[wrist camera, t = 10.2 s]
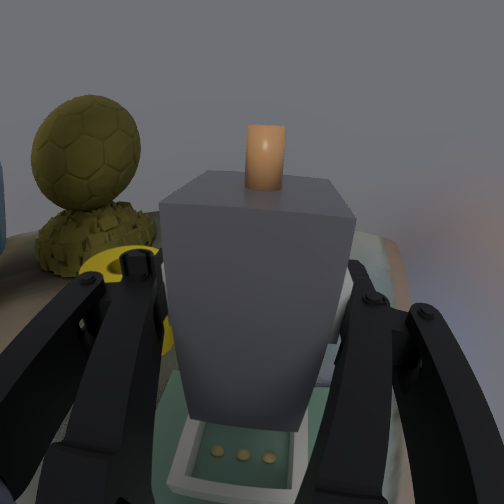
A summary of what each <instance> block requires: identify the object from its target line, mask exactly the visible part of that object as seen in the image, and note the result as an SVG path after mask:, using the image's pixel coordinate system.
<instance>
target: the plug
mask: <svg viewBox="0 0 504 504" xmlns="http://www.w3.org/2000/svg"><path fill="white" fill-rule="evenodd" d="M285 135H286V127H283V126H270V125H251V124H247V140H246V141H247V142H246V163H245V172H235V171H210V170H208V171H206V172H204V173H203V174H201V175H200V176H198V177H197V178H195V179H194V180H192V181H190V182H189V183H187V184H186V185H184V186H183V187H181V188H180V189H178V190H177V191H175V192H174V193H172V194H171V195H169V196H168V197H167V198H165V199H164V200H162V201H161V202H159V214H160V228H161V241H162V252H163V262H164V271H165V280H166V288H167V296H168V304H169V311H170V318H171V324H172V331H173V337H174V343H175V349H176V355H177V360H178V365H179V371H180V376H181V381H182V386H183V390H184V395H185V400H186V404H187V409H188V413H189V417H190V419H193V420H198V421H203V422H209V423H215V424H221V425H227V426H234V427H242V428H250V429H259V430H270V431H283V432H298V431H299V428H300V426H301V423H302V420H303V418H304V415H305V412H306V409H307V406H308V404H309V401H310V398H311V395H312V392H313V389H314V386H315V383H316V380H317V377H318V374H319V371H320V368H321V364H322V361H323V358H324V355H325V351H326V348H327V344H328V341H329V337H330V334H331V330H332V327H333V323H334V319H335V315H336V312H337V308H338V304H339V300H340V296H341V291H342V287H343V283H344V279H345V274H346V270H347V265H348V260H349V256H350V251H351V246H352V241H353V235H354V230H355V225H356V217H355V216H354V214H353V213H352V211H351V210H350V208H349V207H348V206H347V204H346V203H345V201H344V200H343V199H342V197H341V196H340V194H339V193H338V192H337V190H336V189H335V188H334V186H333V185H332V184H331V182H330V181H329V180H328V179H319V178H310V177H300V176H290V175H283V163H284V150H285Z"/></svg>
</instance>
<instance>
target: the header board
mask: <svg viewBox="0 0 504 504" xmlns="http://www.w3.org/2000/svg"><path fill="white" fill-rule="evenodd" d="M329 390H330V387H314V389H313V392H312V395H311V398H310V401H309V404H308V406H307V409H306V412H305V415H304V418H303V420H302V423H301V426H300V428H299V431H298V432H283V431H270V430H259V429H250V428H242V427H234V426H227V425H221V424H215V423H209V422H203V421H198V420H193V419H190V417H189V413H188V409H187V404H186V400H185V395H184V390H183V386H182V381H181V376H180V371H179V370H174V369H173V371H172V373H171V376H170V378H169V380H168V383H167V385H166V387H165V390H164V392H163V395H162V397H161V400H160V402H159V404H158V407H157V409H156V412H155V422H154V436H153V453H152V478H151V487H152V493H153V496H154V500H155V504H294V502H295V500H296V497H297V495H298V492H299V489H300V486H301V484H302V481H303V478H304V475H305V472H306V469H307V466H308V463H309V460H310V457H311V454H312V451H313V448H314V445H315V441H316V438H317V435H318V431H319V428H320V424H321V421H322V417H323V413H324V409H325V406H326V402H327V398H328V394H329Z"/></svg>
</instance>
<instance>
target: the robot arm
mask: <svg viewBox="0 0 504 504" xmlns="http://www.w3.org/2000/svg"><path fill="white" fill-rule="evenodd" d="M5 246H6V220H5V201H4V184H3V172H2V166H1V162H0V255H1V254H2V252H3V251H4V249H5ZM119 260H120V266H121V271H122V279H121V281H120V282H106V283H105V281H104V277H103V275H102V274H101V273H100V272H97V271H88V272H84V273H82V274H79V275H78V276H77V277H75V278H74V279H73V280H72V281H71V282H70V283H69V284H68V285H66V286H65V287H64V288H63V289H62V290H61V291H60V292H59V293H58V294H57V295H56V296H55V297H54V298H53V299H52V300H51V301H50V302H49V303H48V304H47V305H46V306H45V307H44V308H43V309H42V310H41V311H40V312H39V313H38V314H37V315H36V316H35V317H34V318H33V319H32V320H31V321H30V322H29V323H28V324H27V325H26V326H25V328H24V329H23V330H22V331H21V332H20V333H19V334H18V335H17V336H16V337H15V338H14V340H13V341H12V342H11V343H10V344H9V345H8V346H7V347H6V349H5V350H4V351H3V352H2V353H1V354H0V504H16V503H15V501H16V500H17V499H18V498H19V497H20V496H21V495H22V493H23V492H24V491H25V489H26V488H27V486H28V485H29V483H30V482H31V480H32V478H33V476H34V475H35V473H36V471H37V469H38V467H39V465H40V463H41V461H42V459H43V457H44V455H45V457H44V461H43V465H42V470H41V475H40V480H39V485H38V490H37V496H36V503H35V504H155V500H154V496H153V493H152V487H151V478H152V453H153V436H154V422H155V410H156V399H157V389H158V380H159V371H160V363H161V355H162V348H163V340H164V333H165V330H164V324H163V322H164V320H165V318H166V316H167V315H168V321H169V326H172V324H171V318H170V311H169V304H168V296H167V288H166V280H165V271H164V262H163V252H162V248H161V249H160V250H159V251H158V252H157V254H155V255H154V253H153V252H152V251H151V250H148V249H141V248H139V249H132V250H128V251H126V252H124V253H122V254H121V255H120V256H119ZM82 318H83V321H84V324H85V326H84V327H83V328H82V329H81V328H80V326H79V322H80V320H81V319H82ZM339 334H340V337H341V344H340V347H339V350H338V353H337V356H336V359H335V362H334V364H335V368H334V373H333V377H332V381H331V386H330V390H329V394H328V398H327V402H326V406H325V409H324V413H323V417H322V421H321V424H320V428H319V431H318V435H317V438H316V441H315V445H314V448H313V451H312V454H311V457H310V460H309V463H308V466H307V469H306V472H305V475H304V478H303V481H302V484H301V486H300V489H299V492H298V495H297V497H296V500H295V502H294V504H388V501H387V500H386V499H385V498H384V497H383V496H382V485H383V479H384V473H385V466H386V459H387V451H388V441H389V431H390V418H391V400H392V386H393V389H394V393H395V397H396V401H397V405H398V410H399V414H400V418H401V423H402V427H403V432H404V437H405V442H406V447H407V452H408V458H409V463H410V469H411V476H412V482H413V490H414V497H415V504H504V445H503V442H502V439H501V436H500V433H499V431H498V428H497V425H496V423H495V420H494V418H493V415H492V413H491V411H490V408H489V406H488V404H487V401H486V399H485V397H484V394H483V392H482V390H481V388H480V386H479V383H478V381H477V380H476V377H475V375H474V373H473V371H472V369H471V367H470V365H469V363H468V361H467V359H466V357H465V355H464V354H463V352H462V350H461V348H460V346H459V344H458V342H457V341H456V339H455V337H454V335H453V333H452V332H451V330H450V328H449V327H448V325H447V323H446V322H445V320H444V318H443V316H442V315H441V313H440V312H439V311H438V310H437V309H435V308H434V307H433V306H432V305H429V304H426V303H415V304H413V305H412V306H411V308H410V310H409V312H405V311H401V310H397V309H394V308H391V307H390V303H389V300H388V299H387V298H386V297H385V296H384V295H383V294H381V293H379V292H376V291H375V289H374V286H373V284H372V282H371V280H370V278H369V275H368V273H367V271H366V269H365V267H364V265H362V264H361V263H360V262H359V261H358V260H348V265H347V270H346V274H345V279H344V283H343V287H342V291H341V296H340V300H339V304H338V308H337V312H336V315H335V319H334V323H333V327H332V330H331V334H330V337H329V341H328V344H337V341H338V337H339ZM73 403H74V405H73ZM72 405H73V408H72V412H71V415H70V419H69V422H68V426H67V430H66V434H65V437H64V439H63V440H62V441H61V442H56V443H52V444H51V442H52V440H53V438H54V436H55V434H56V433H57V431H58V429H59V427H60V425H61V424H62V422H63V420H64V418H65V417H66V415H67V413H68V412H69V410H70V408H71V406H72ZM50 444H51V445H50ZM49 445H50V446H49ZM45 453H46V454H45Z"/></svg>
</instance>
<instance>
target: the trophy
mask: <svg viewBox="0 0 504 504" xmlns="http://www.w3.org/2000/svg"><path fill="white" fill-rule="evenodd" d="M140 146H141V145H140V137H139V132H138V130H137V126H136V123H135V121H134V119H133V117H132V116H131V115H130V114H129V112H128V111H127V110H126V109H125V108H123V107H122V106H121V105H120V104H118V103H117V102H115V101H113V100H111V99H108V98H106V97H103V96H96V95H85V96H80V97H75V98H73V99H72V100H68V101H66V102H65V103H63V104H61V105H60V106H58V107H57V108H56V109H55V110H53V111H52V112H51V113H50V114H49V115H48V117H47V118H46V119H45V120H44V122H43V123H42V124H41V126H40V127H39V129H38V131H37V133H36V135H35V138H34V142H33V146H32V153H31V165H32V172H33V175H34V178H35V181H36V182H37V185H38V187H39V189H40V190H41V192H42V193H43V194H44V195H45V196H46V198H48V199H49V200H51V201H52V202H53V203H54V204H56V205H57V206H59V207H61V208H63V209H66V210H64V211H62V212H60V213H58V215H57V216H56V217H54V218H53V217H51V220H49V221H48V223H47V224H46V225H44V226H43V228H42V229H41V230H39V239H36V244H35V258H36V260H37V261H38V262H39V263H40V266H41V268H42V269H43V270H45V271H47V272H48V271H49V270H51V271H54V274H55V275H61V277H77V276H78V275H79V271H80V268H81V267H82V265H83V264H84V263H85V262H86V261H87V260H88V259H90V258H91V257H93V256H94V255H96V254H98V253H100V252H103V251H105V250H108V249H112V248H116V247H122V246H131V245H139V246H151V243H152V239H153V237H154V235H155V232H154V231H155V225H154V221H150V215H147V214H143V213H142V211H139V212H138V213H137V212H136V210H135V211H134V209H133V208H132V206H131V204H130V203H128V202H120V201H119V202H117V203H115V202H114V201H112V200H113V199H115V198H116V197H117V196H118V195H119V194H120V193H121V192H122V191H123V190H124V189H126V187H127V186H128V185H129V183H130V182H131V180H132V178H133V177H134V175H135V172H136V170H137V167H138V163H139V159H140V152H141V147H140Z"/></svg>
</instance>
